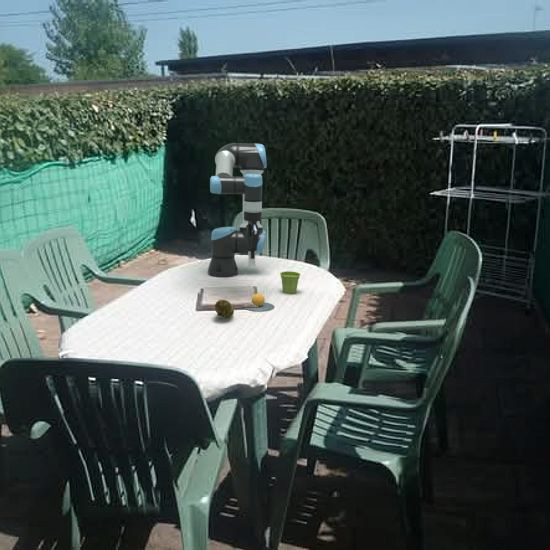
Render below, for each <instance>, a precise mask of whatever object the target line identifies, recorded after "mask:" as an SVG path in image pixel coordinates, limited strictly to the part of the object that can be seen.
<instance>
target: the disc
mask: <svg viewBox="0 0 550 550" xmlns="http://www.w3.org/2000/svg"><path fill="white" fill-rule="evenodd" d="M243 309H244V310H247V311H250V312H257V313H260V312H261V313H263V312H269V311H272V310H274V309H275V305H274V304H272V303H269V302H266V301H265V302H264V304H263V305H262V306H258V307H257V308H243Z"/></svg>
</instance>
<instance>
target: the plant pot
mask: <svg viewBox="0 0 550 550" xmlns="http://www.w3.org/2000/svg"><path fill="white" fill-rule="evenodd" d="M279 275H280V279H281V285H282V293H284V294H289V295H292V294H297V288H298V283H299V279H300V278H301V273H300V272H297V271H291V270H290V271H289V270H288V271H281V272H280V273H279Z"/></svg>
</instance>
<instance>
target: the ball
mask: <svg viewBox="0 0 550 550" xmlns="http://www.w3.org/2000/svg"><path fill="white" fill-rule="evenodd" d="M251 302H252V303H253V304H254V305H256V306H262V305H263V304H264V302H266V299H265V296H264V295H263V294H262V293H255V294H253V295H252V297H251Z"/></svg>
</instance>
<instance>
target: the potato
mask: <svg viewBox="0 0 550 550" xmlns="http://www.w3.org/2000/svg"><path fill="white" fill-rule="evenodd" d="M214 310H215V312H216V313H217V316H219V317H222V318H226V319H227V318H228V319H229V318H231V317H233V315H234V313H235V309H234V306H233V305H232V304H231V302H230V301H228V300H226V299H219V300H217V301H216V302H215V304H214Z"/></svg>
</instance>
